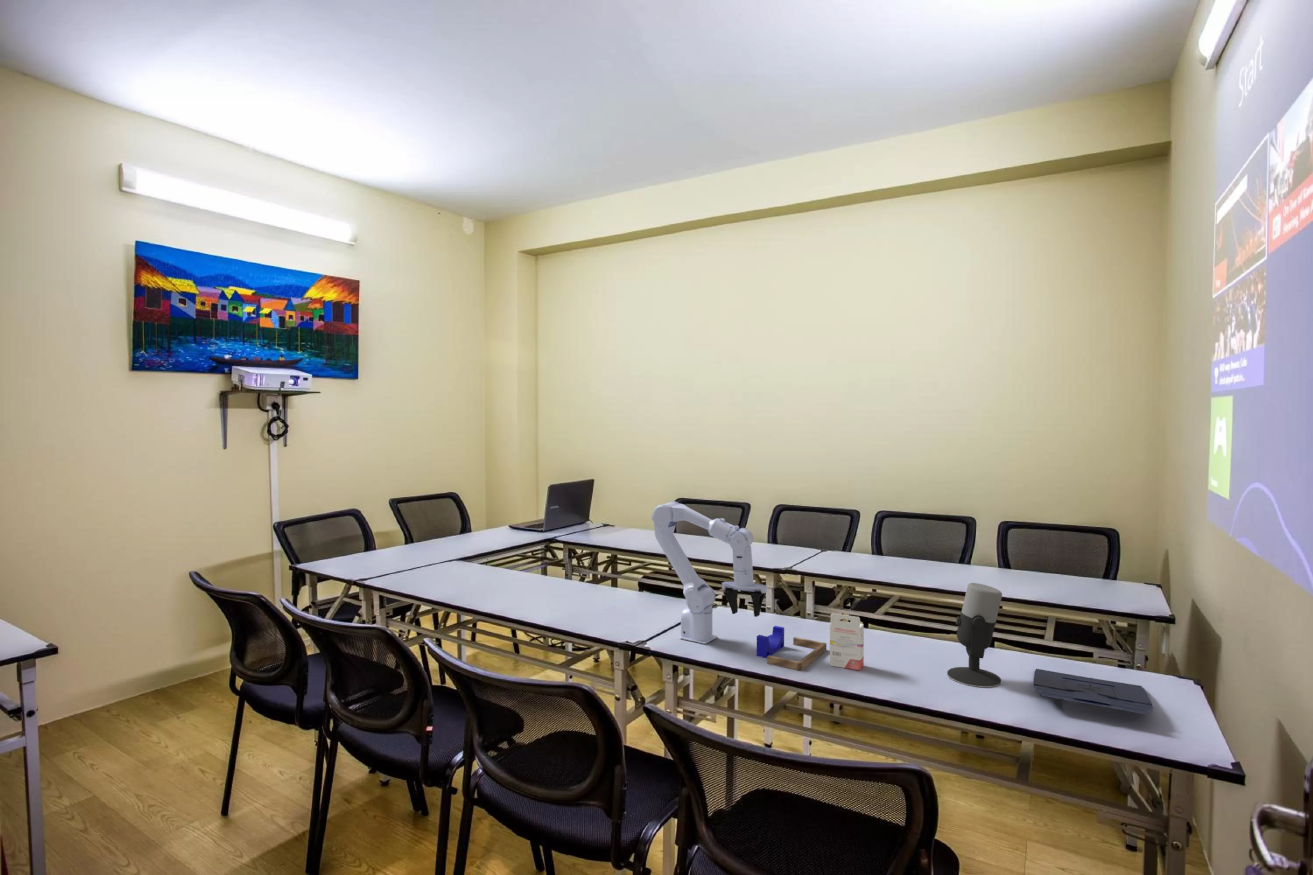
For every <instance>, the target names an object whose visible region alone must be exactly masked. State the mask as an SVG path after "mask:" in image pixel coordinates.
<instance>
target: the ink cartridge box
mask: <svg viewBox="0 0 1313 875" xmlns="http://www.w3.org/2000/svg"><path fill="white" fill-rule="evenodd" d="M844 619H846V620H847V621H843V620H844ZM864 637H865V636H864V623H861V618H860V616H853V615H847V614H837V613H831V614H830V624H829V665H830V666H831V667H836V668H843V669H849V670H855V671H861V670H862V668H863V667H864V659H865V658H864V657H865V656H864V654H865V653H864V652H865V651H864V650H865V648H864V644H865V643H864V640H865V639H864Z"/></svg>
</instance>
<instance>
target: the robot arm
mask: <svg viewBox="0 0 1313 875" xmlns="http://www.w3.org/2000/svg"><path fill="white" fill-rule="evenodd" d="M651 520H652V522H653V527H654V536H655V539H656V540H657V543H658V544H659V546H660V547H661V549H662V551H663V553H664V554H665V557H666V558H667V559H668V561H669V562H670V563H669V564H670V565H671V566H672V568H673V571H675V574H676V575H677V577H678V578H679V580H680V581H681V583H682V585H683V591H682V592H683V596H684V598H685V602H686V606H687V607H685V608H684V609H683V610H682V612H681V616H680V636H679V639H681V640H685V641H690V642H694V643H699V644H705V645H706V644H709V643H710V642H712V641H714V640H715V639H717V638H718V636H719V635H715V634H713V604H714V602H715V601H716V593H715V590H714V589H713V588H712V587H710V586H709V584H707V582H706V581H705V579H702V578H701V577H699V576H698V574H697V572H696V570H695V568H694V567H693V565H692V563H691V562H690V560H689V559H688V557H687V555H686V553H685V552H684V550H683V548H682V546H681V545H680V543H679V541H678V539H677V538H676V537H675V536H676V535H675V534H674V531H675V529H676V526H677V524H678V522H681V521H683V522H684V521H685V522H688V523H690V524H692V525H695V526H697V527H700V528H701V529H702V528H703V529H704V530H707V532H708V534H709V536H710V537H712V538H715V539H717V540H719V541H722V542H724V543H725V544H727V545H729V546H730V548H731V549H732V564H733V565H732V567H733V580H734V581H723V582H721V589H722V590H724V591H723V595H724V597H725V599H726V600H727V602H728V604H729V607H730V610H731V614H732V615H736V614H737V613H738V610H739V608H738V598H739V597H738V596H739V591H744V592H753V593H751V594H750V598H751V601H752V606H753V616H754V618H755V617H756V618H757V617H759V616H761V609H762V604H763V601H764V598H765V597H766V595H767V593H768V585H765V584H761V583H756V582H754V569H753V555H752V543H753V542H754V534H753V533H752V532H751V531H750V530H749V529H748V528H746V527H741V528H740V526H739V525H733V524H731V523H729V522H727V521H726V519H725V518H724V517H723V518H722V517H721V518H718V517H717V518H714V519H712V518H709V517H708V516H705V515H703V514H701V513H699V512H698V511H696V510H694V509H692V508H691V507H689V506H687V505H685V504H683V503H679V502H678V501H675V500H673V501H668V502H666V503H662V504H658V505H656V506H655V508H654V509H653V512H652V515H651Z"/></svg>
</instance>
